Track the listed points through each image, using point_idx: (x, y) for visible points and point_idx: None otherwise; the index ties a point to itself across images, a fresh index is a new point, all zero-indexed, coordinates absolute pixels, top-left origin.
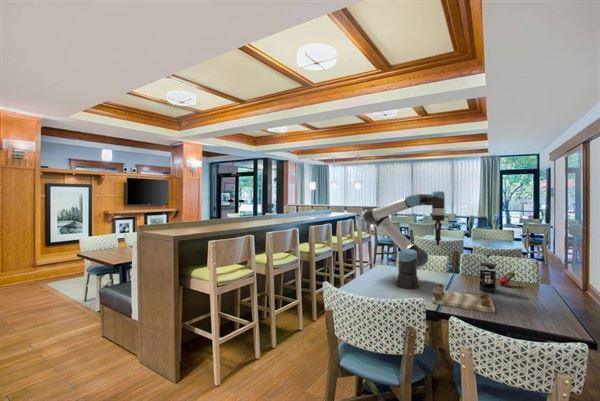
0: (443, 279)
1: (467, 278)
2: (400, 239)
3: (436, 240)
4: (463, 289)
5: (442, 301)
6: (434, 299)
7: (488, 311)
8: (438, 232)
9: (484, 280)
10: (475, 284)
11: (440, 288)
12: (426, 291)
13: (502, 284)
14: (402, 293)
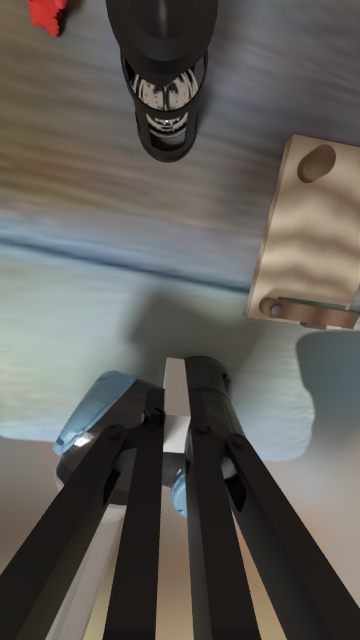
0: (80, 281)
1: (14, 182)
2: (93, 603)
3: (185, 444)
4: (183, 224)
5: (350, 304)
6: None
7: None
8: (331, 588)
9: (195, 117)
10: (96, 163)
11: (302, 311)
12: (238, 338)
13: (54, 16)
14: (270, 391)
